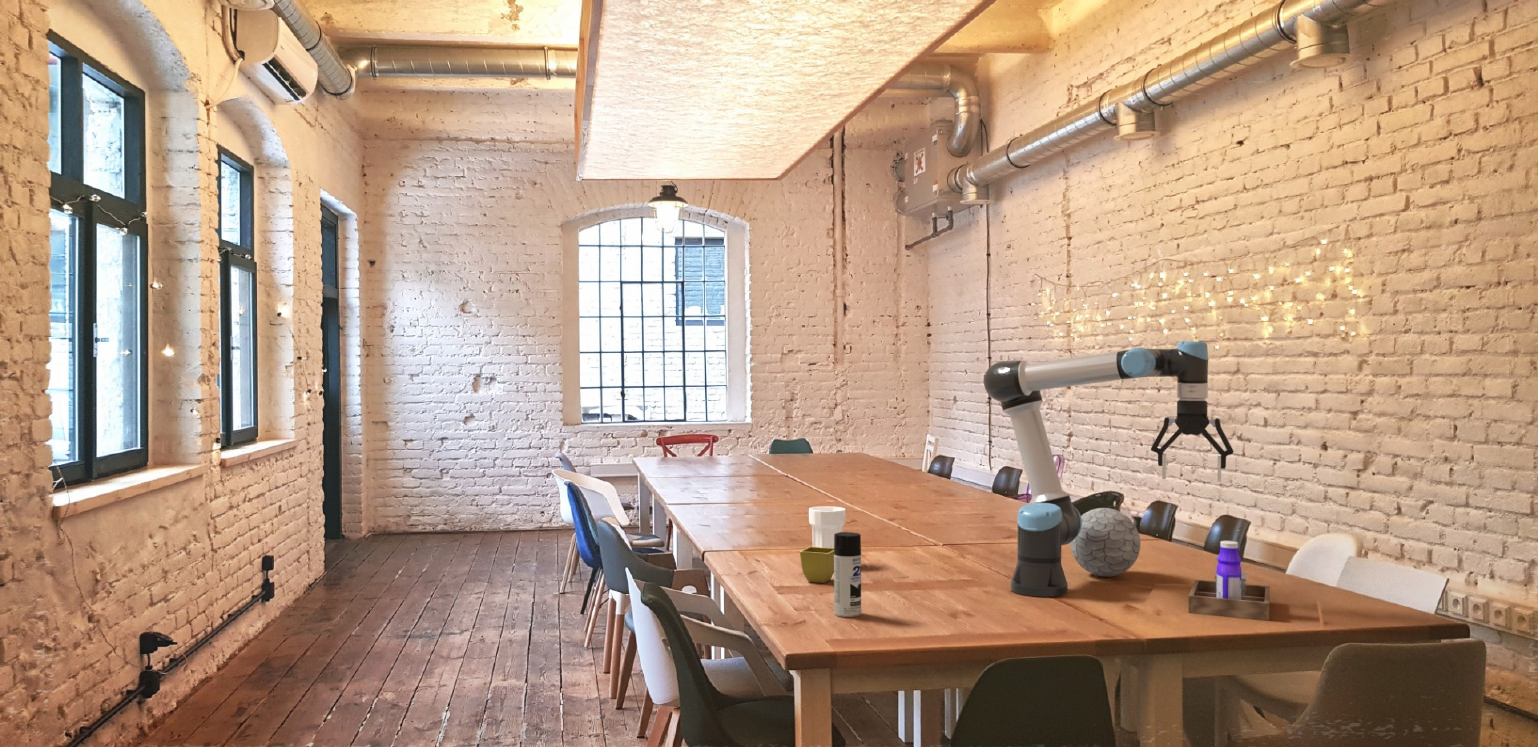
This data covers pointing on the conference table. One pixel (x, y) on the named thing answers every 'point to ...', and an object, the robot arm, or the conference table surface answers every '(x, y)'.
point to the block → (1243, 583)
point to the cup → (826, 524)
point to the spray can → (847, 574)
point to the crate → (1230, 602)
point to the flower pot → (817, 563)
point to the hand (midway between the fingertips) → (1191, 479)
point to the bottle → (1229, 571)
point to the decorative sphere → (1106, 542)
